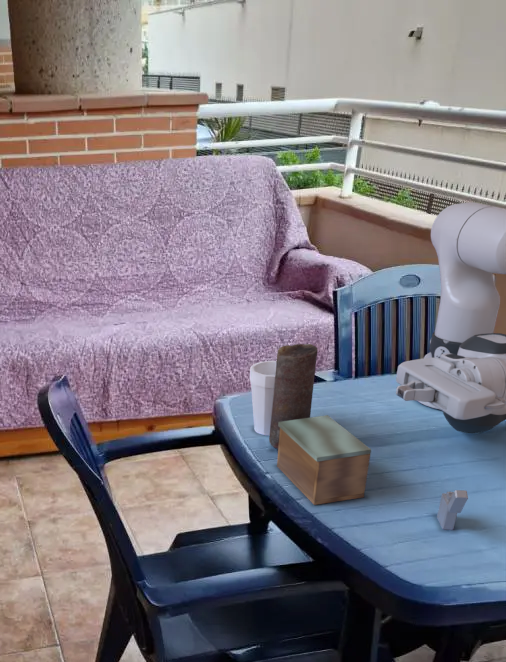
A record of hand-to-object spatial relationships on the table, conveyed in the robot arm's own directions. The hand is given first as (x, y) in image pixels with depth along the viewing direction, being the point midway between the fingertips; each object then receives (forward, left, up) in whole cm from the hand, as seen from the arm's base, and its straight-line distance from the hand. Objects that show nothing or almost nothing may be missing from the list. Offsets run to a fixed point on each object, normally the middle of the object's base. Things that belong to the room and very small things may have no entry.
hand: (400, 393), depth 128 cm
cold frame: (+13, -4, -15) cm, 20 cm away
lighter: (+9, +19, -15) cm, 26 cm away
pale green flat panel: (+13, -4, -6) cm, 15 cm away
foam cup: (+4, -27, -15) cm, 31 cm away
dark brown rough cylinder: (+7, -18, -15) cm, 24 cm away
